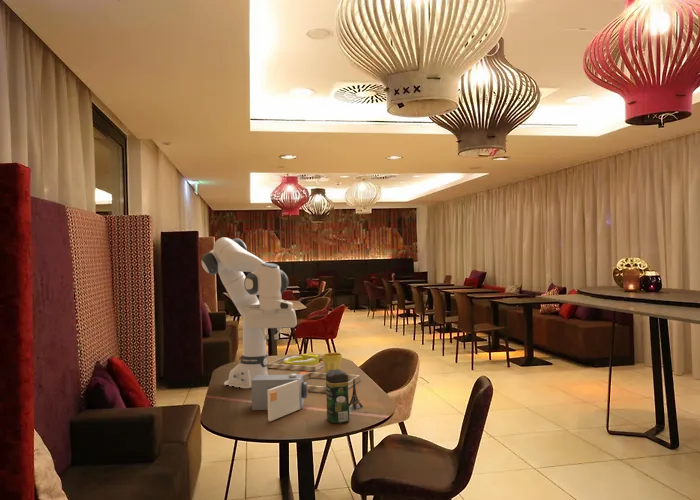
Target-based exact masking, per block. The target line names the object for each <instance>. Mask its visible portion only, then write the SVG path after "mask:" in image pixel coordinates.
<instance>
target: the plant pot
mask: <svg viewBox="0 0 700 500" xmlns="http://www.w3.org/2000/svg"><path fill="white" fill-rule="evenodd" d="M321 357H322V361H323V362H324V369H325V373H327V372H328V371H329V370H335V369H340V368H341V362H342V361H343V354H342V353H340V352H327V353H322V355H321ZM340 370H341V369H340Z"/></svg>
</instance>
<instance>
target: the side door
mask: <svg viewBox="0 0 700 500" xmlns="http://www.w3.org/2000/svg"><path fill="white" fill-rule="evenodd" d="M267 395H268V410H267V421H269V422H272V421H275V420H277V419H279V418H282V417H284V416H286V415H289V414H292V413H294V412H296V411H298V410H302V409H301V383H300V378H297V380H295V381H292V382H289V383H286V384H283V385H280V386H278V387H275V388H272V389H269V390H267Z"/></svg>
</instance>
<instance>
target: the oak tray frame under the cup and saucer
mask: <svg viewBox="0 0 700 500" xmlns="http://www.w3.org/2000/svg"><path fill="white" fill-rule="evenodd" d="M347 375H348V390H349V389H350V388H353V379H355V385H356V384H357V383H359V382H360V381H361V374H347ZM308 379H323V380H324V379H325V380H326V372H315V371H307V372H306V373H304V374H303V382H305V381H306V380H308ZM307 387H308V392H310V393H323V394H326V386H322V385H321V386H320V385H309V384H307Z"/></svg>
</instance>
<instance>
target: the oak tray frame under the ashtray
mask: <svg viewBox="0 0 700 500" xmlns="http://www.w3.org/2000/svg"><path fill="white" fill-rule="evenodd" d="M294 356H295V355H285V356H283V357H280V358H277V359H276V360H273V361H270V362H269V363H268V362H267V369H268V368H278V369H277V370H285V369H290V370H289V371H302V370H303V372H304V371H305V372H306V371H307V372H316V371H318V370H320V369H322V368H324V367H325V366H324V362H319V364H317V365H315V366H303V365H285V364H283V363H281V362H283V360H284V359H285V358H288V357H294ZM298 356H299V357H300V355H298ZM319 361H322V356H319ZM278 363H281V364H278ZM323 366H324V367H323ZM321 367H322V368H321Z"/></svg>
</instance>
